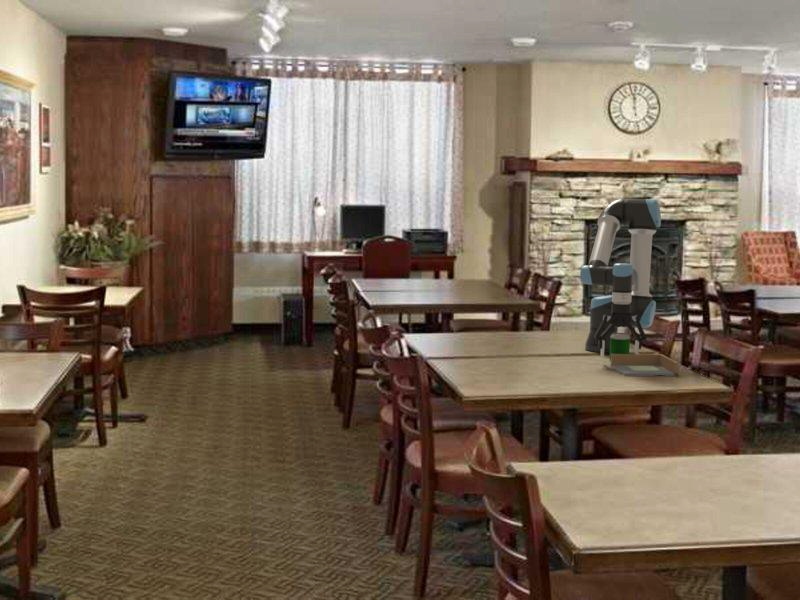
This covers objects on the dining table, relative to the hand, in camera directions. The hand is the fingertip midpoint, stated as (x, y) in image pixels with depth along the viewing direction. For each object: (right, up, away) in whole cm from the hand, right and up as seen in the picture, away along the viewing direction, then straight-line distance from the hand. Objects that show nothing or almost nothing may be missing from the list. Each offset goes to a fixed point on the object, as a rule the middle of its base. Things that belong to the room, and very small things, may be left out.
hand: (619, 357), depth 415 cm
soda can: (0, -3, 0) cm, 3 cm away
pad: (+6, -4, -15) cm, 17 cm away
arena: (+6, -4, -15) cm, 17 cm away
